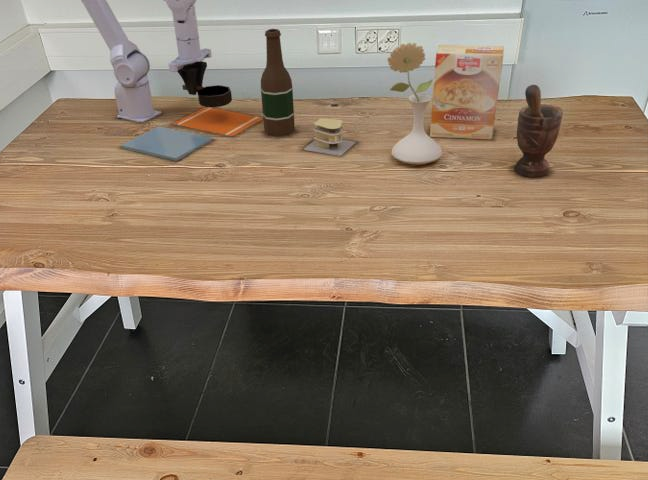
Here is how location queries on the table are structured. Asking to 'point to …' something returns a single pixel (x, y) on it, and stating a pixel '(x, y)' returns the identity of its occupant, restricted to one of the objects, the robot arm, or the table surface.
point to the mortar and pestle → (536, 133)
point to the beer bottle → (276, 90)
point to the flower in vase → (416, 143)
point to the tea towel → (218, 121)
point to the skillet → (213, 95)
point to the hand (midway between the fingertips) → (195, 93)
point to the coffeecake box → (465, 91)
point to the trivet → (166, 143)
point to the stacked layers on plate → (329, 138)
